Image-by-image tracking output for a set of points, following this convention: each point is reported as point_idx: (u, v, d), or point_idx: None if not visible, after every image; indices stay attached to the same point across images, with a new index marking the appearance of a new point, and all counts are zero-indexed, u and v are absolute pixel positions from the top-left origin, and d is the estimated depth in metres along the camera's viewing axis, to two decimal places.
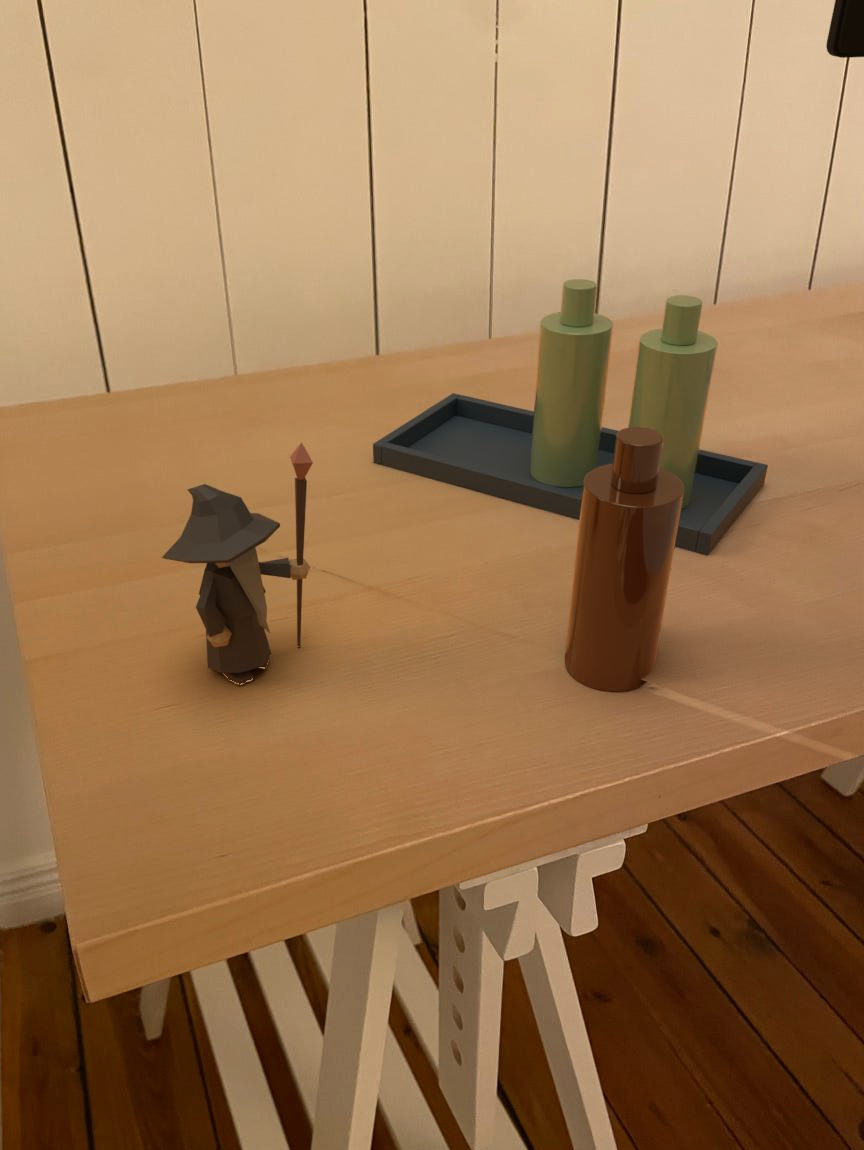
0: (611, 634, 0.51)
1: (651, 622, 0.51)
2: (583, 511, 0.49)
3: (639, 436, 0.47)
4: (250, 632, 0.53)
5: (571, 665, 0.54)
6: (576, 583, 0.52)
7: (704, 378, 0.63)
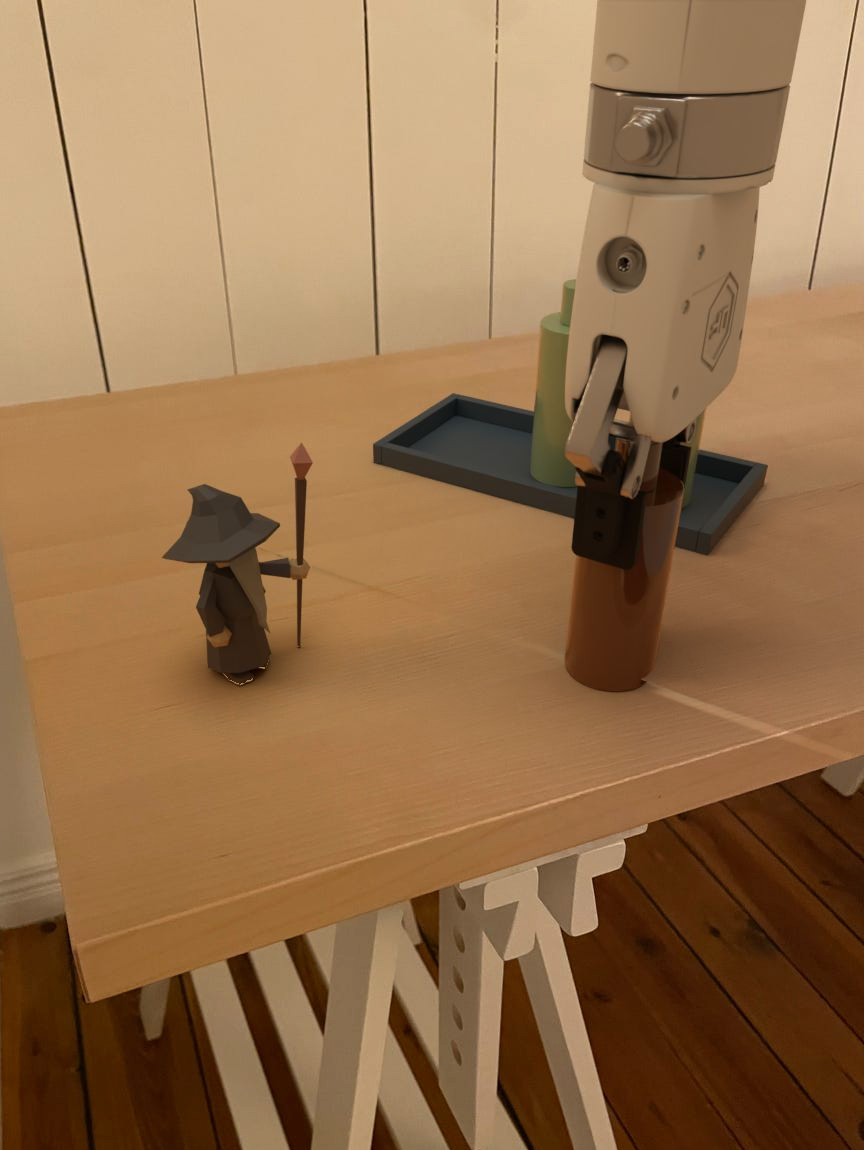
0: (611, 634, 0.51)
1: (651, 622, 0.51)
2: None
3: None
4: (250, 632, 0.53)
5: (571, 665, 0.54)
6: (576, 583, 0.52)
7: None
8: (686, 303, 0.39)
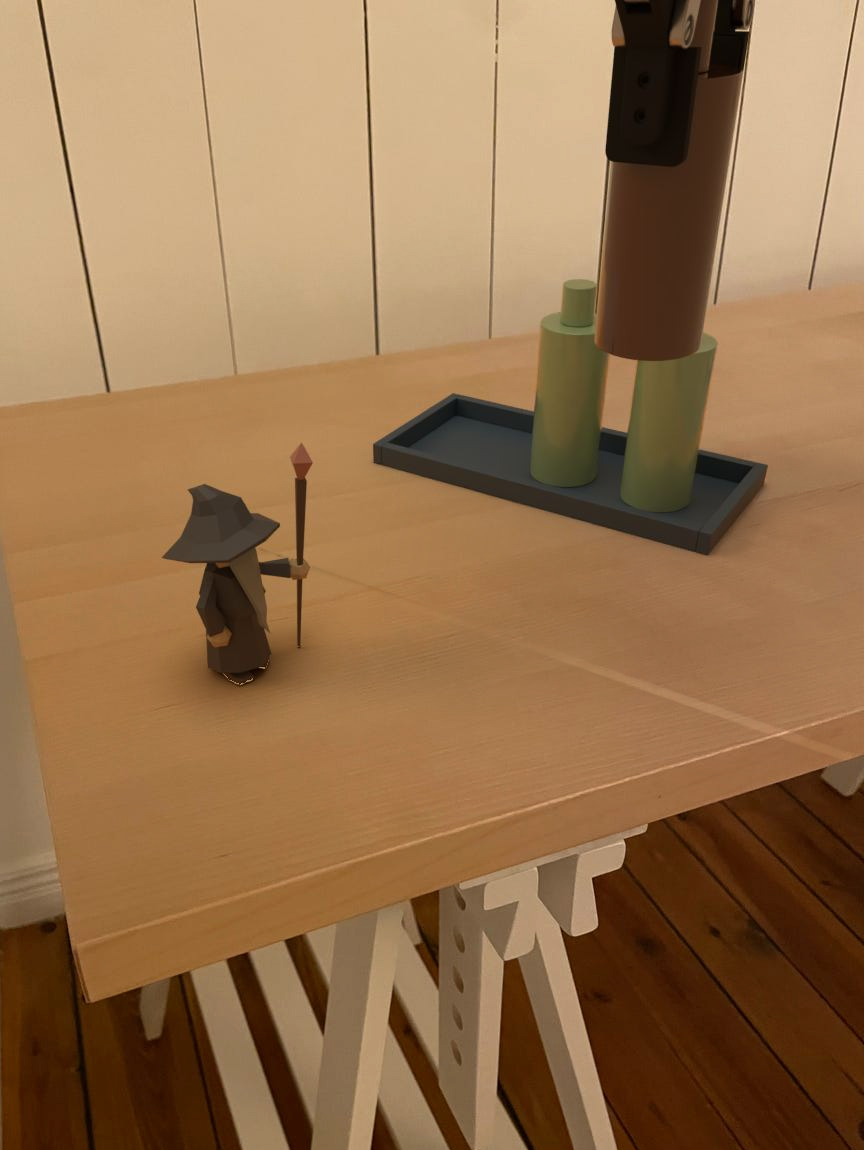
0: (653, 277, 0.43)
1: (701, 261, 0.42)
2: None
3: None
4: (250, 632, 0.53)
5: (603, 337, 0.45)
6: (610, 218, 0.43)
7: (704, 378, 0.63)
8: None
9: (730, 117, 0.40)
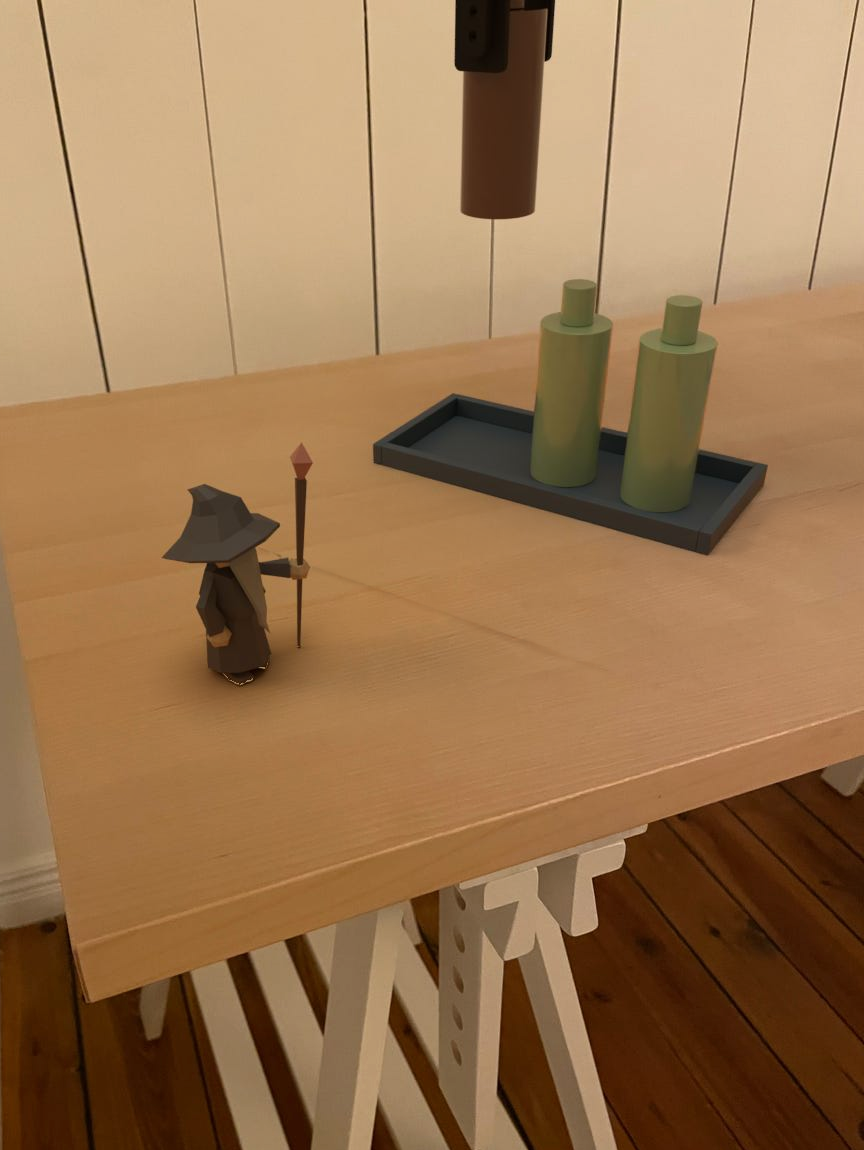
0: (492, 155, 0.61)
1: (526, 144, 0.61)
2: None
3: None
4: (250, 632, 0.53)
5: (463, 204, 0.64)
6: (463, 114, 0.61)
7: (704, 378, 0.63)
8: None
9: (538, 40, 0.58)
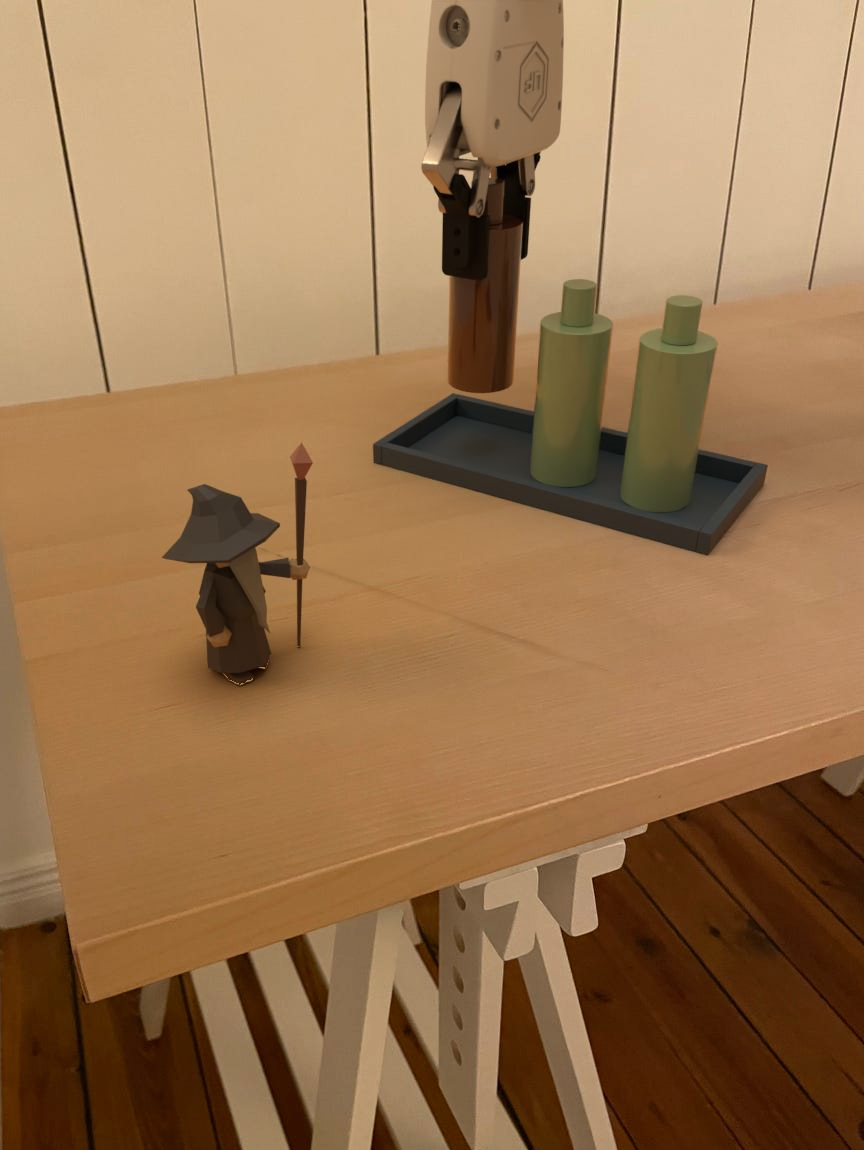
0: (475, 342, 0.69)
1: (504, 333, 0.69)
2: None
3: None
4: (250, 632, 0.53)
5: (450, 377, 0.72)
6: (450, 305, 0.70)
7: (704, 378, 0.63)
8: (499, 54, 0.57)
9: (514, 250, 0.67)
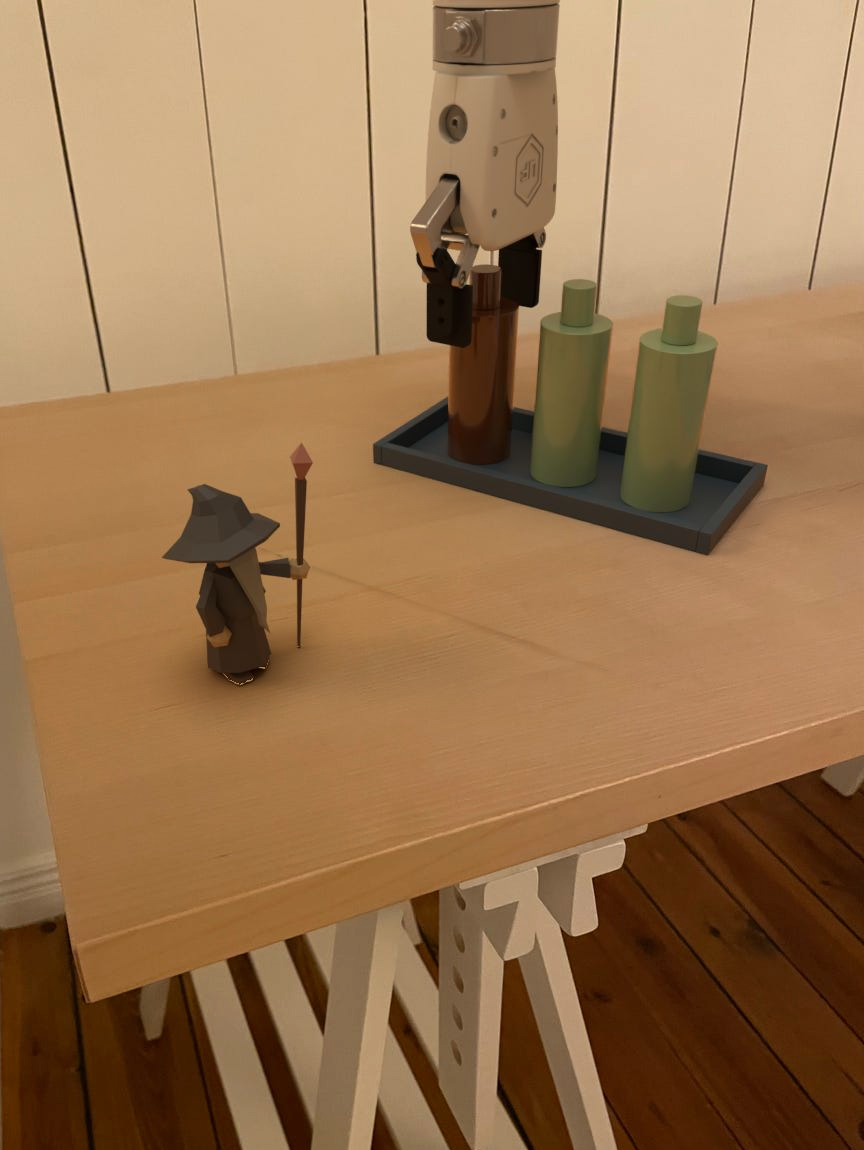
0: (473, 418, 0.73)
1: (502, 409, 0.73)
2: None
3: (485, 268, 0.69)
4: (250, 632, 0.53)
5: (450, 448, 0.76)
6: (449, 382, 0.73)
7: (704, 378, 0.63)
8: (495, 149, 0.60)
9: (511, 333, 0.70)
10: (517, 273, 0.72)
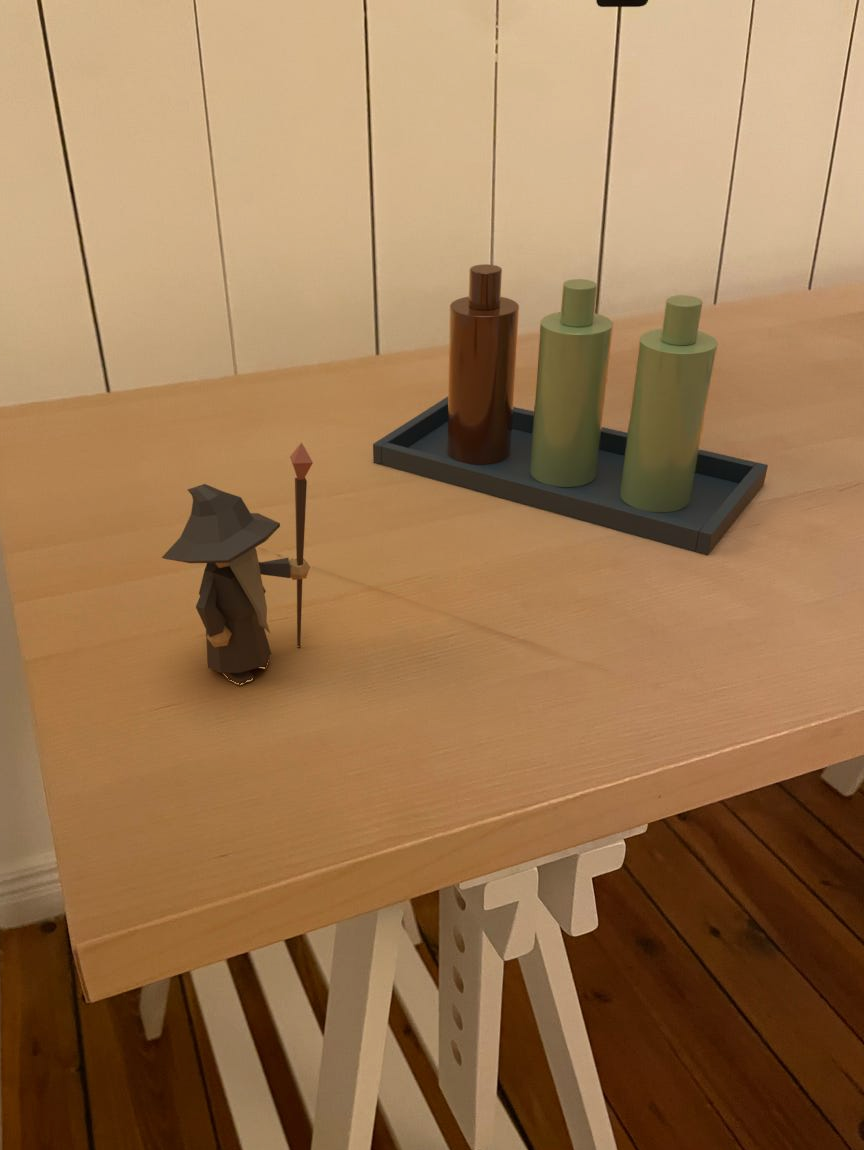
0: (473, 418, 0.73)
1: (502, 409, 0.73)
2: (450, 326, 0.71)
3: (485, 268, 0.69)
4: (250, 632, 0.53)
5: (450, 448, 0.76)
6: (449, 382, 0.73)
7: (704, 378, 0.63)
8: None
9: (511, 333, 0.70)
10: None
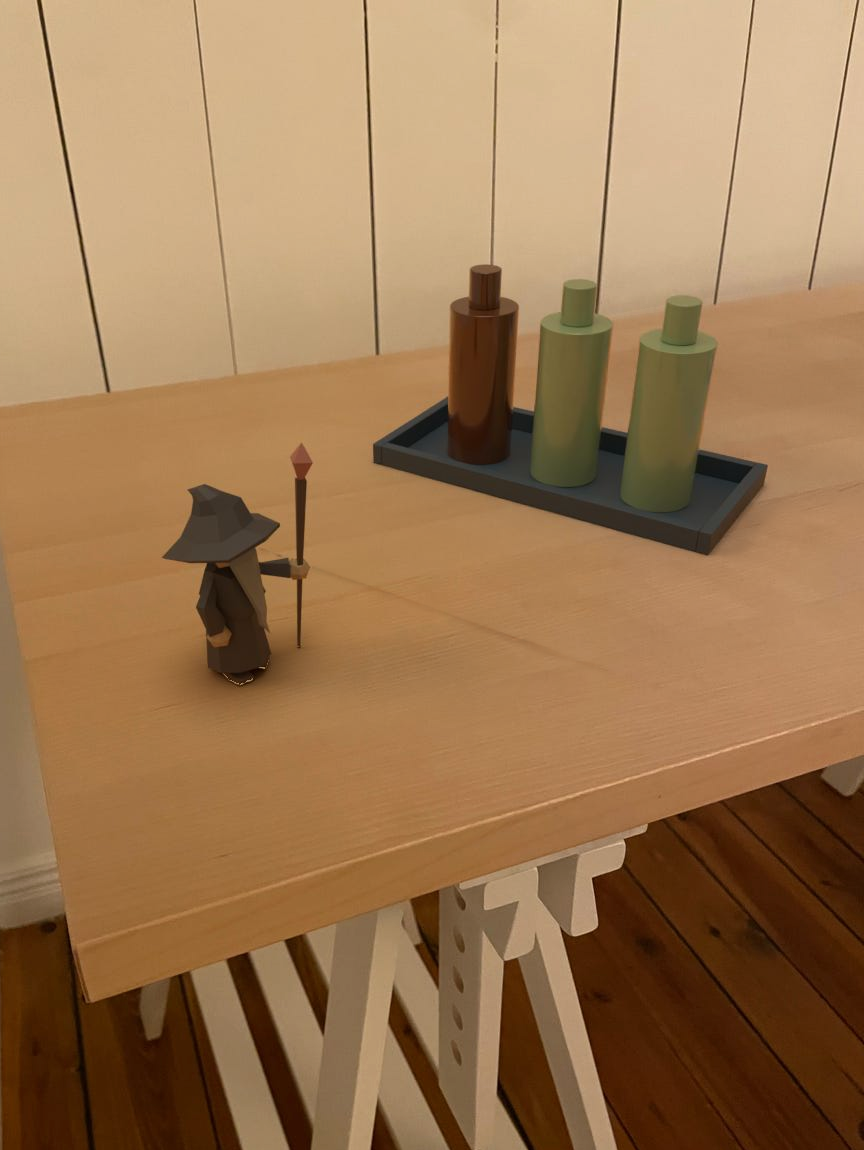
0: (473, 418, 0.73)
1: (502, 409, 0.73)
2: (450, 326, 0.71)
3: (485, 268, 0.69)
4: (250, 632, 0.53)
5: (450, 448, 0.76)
6: (449, 382, 0.73)
7: (704, 378, 0.63)
8: None
9: (511, 333, 0.70)
10: None
